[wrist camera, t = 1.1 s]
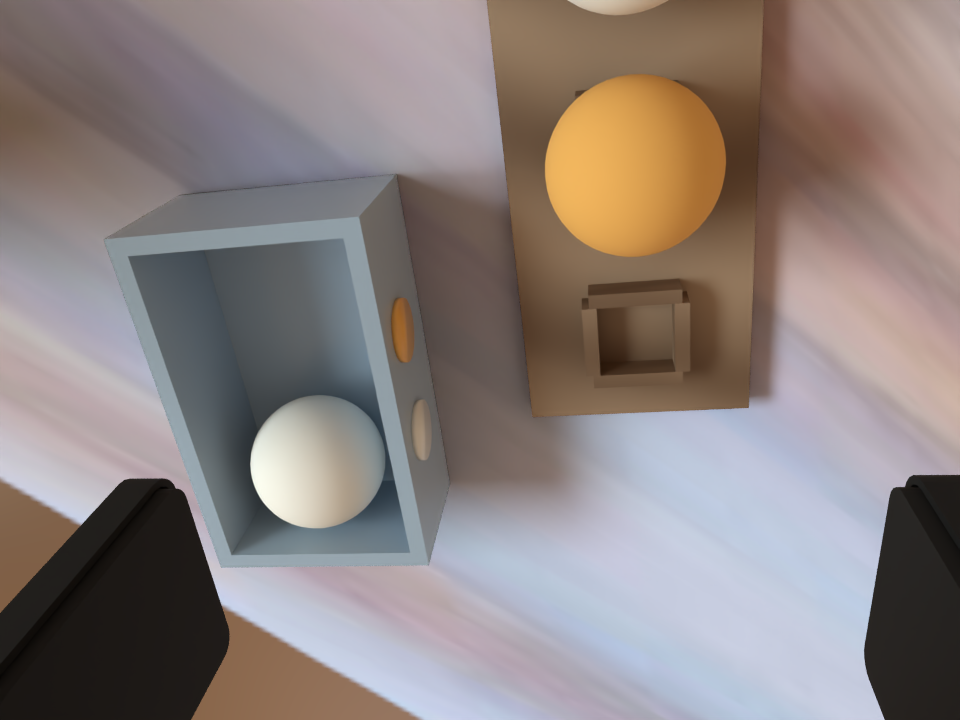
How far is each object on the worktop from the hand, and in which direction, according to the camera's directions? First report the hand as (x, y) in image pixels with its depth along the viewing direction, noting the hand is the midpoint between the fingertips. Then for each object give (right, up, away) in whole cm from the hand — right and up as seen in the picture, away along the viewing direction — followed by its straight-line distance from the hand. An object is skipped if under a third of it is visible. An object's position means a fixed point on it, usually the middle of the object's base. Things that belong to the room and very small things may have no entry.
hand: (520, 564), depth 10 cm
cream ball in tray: (-7, -1, +19) cm, 20 cm away
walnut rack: (+4, +10, +15) cm, 18 cm away
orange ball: (+4, +8, +11) cm, 15 cm away
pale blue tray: (-7, +3, +20) cm, 21 cm away
